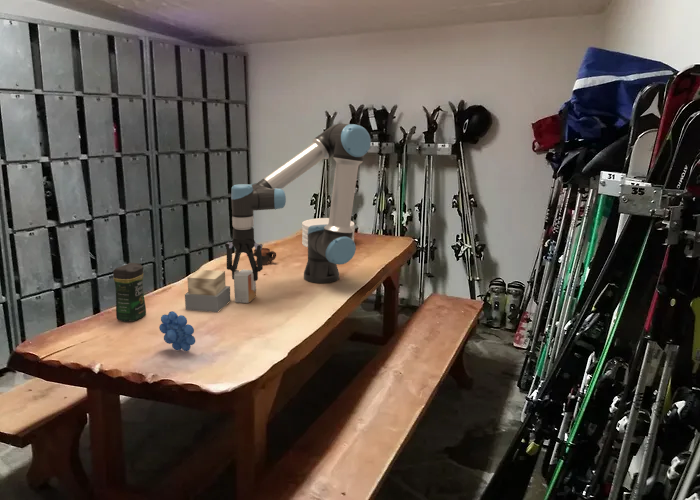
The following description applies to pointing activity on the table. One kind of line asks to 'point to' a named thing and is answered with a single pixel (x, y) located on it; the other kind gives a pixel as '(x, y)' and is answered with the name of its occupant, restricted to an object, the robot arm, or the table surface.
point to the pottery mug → (266, 256)
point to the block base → (207, 301)
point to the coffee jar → (129, 292)
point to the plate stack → (317, 221)
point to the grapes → (177, 331)
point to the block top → (206, 282)
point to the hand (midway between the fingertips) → (245, 288)
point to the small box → (243, 287)
